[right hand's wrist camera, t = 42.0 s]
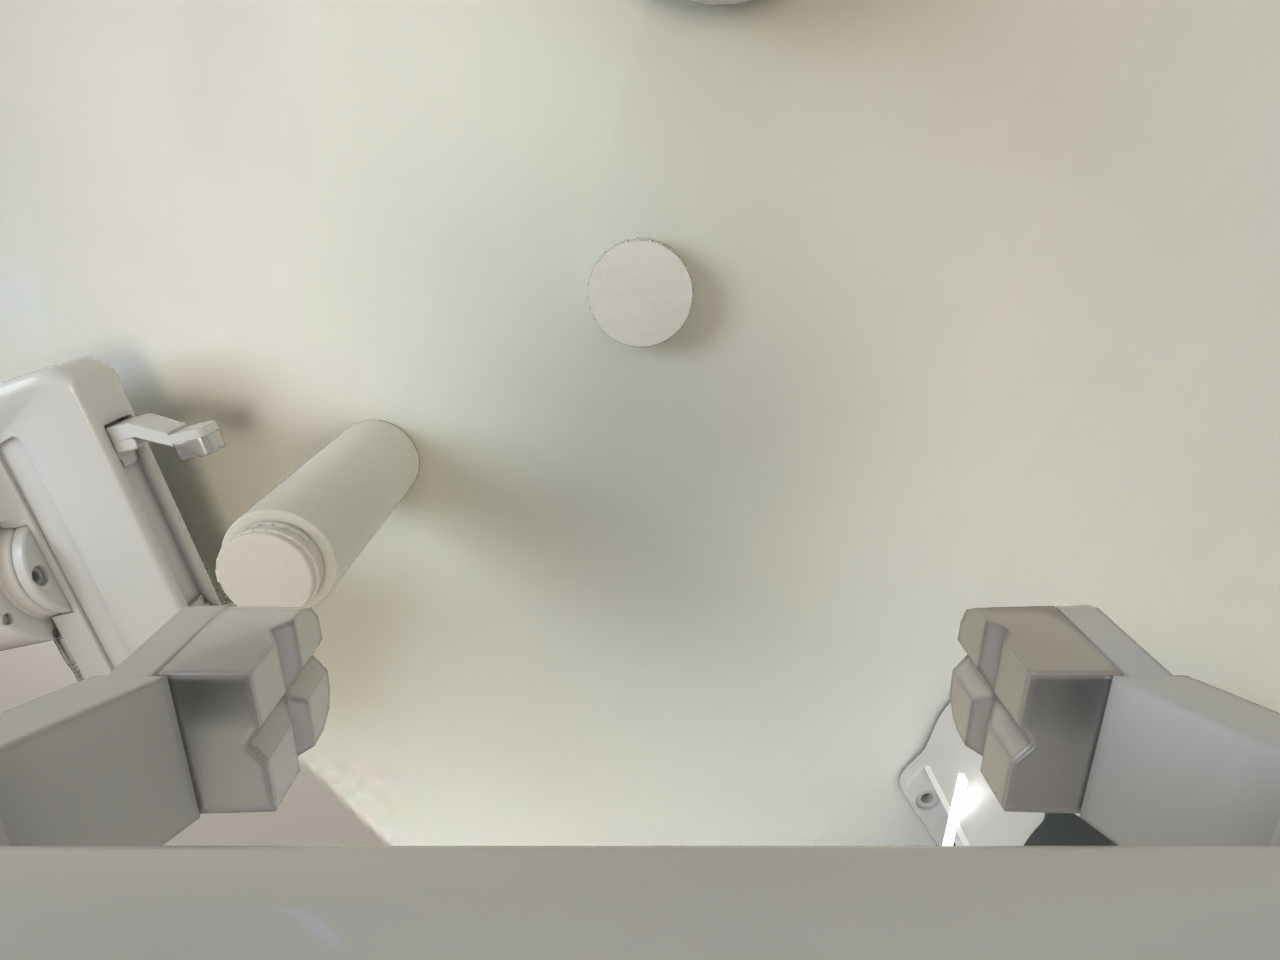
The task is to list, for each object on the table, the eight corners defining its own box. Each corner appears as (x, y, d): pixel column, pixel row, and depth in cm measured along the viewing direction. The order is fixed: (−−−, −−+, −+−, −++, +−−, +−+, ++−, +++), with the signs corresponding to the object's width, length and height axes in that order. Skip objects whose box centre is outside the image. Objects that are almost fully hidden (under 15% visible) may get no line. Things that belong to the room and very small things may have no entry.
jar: (414, 419, 47) (315, 521, 33) (423, 498, 49) (332, 628, 34) (330, 420, 47) (192, 523, 33) (341, 498, 49) (216, 630, 34)
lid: (572, 262, 44) (570, 264, 43) (669, 220, 43) (670, 222, 42) (613, 358, 46) (612, 363, 44) (706, 319, 45) (709, 324, 44)
